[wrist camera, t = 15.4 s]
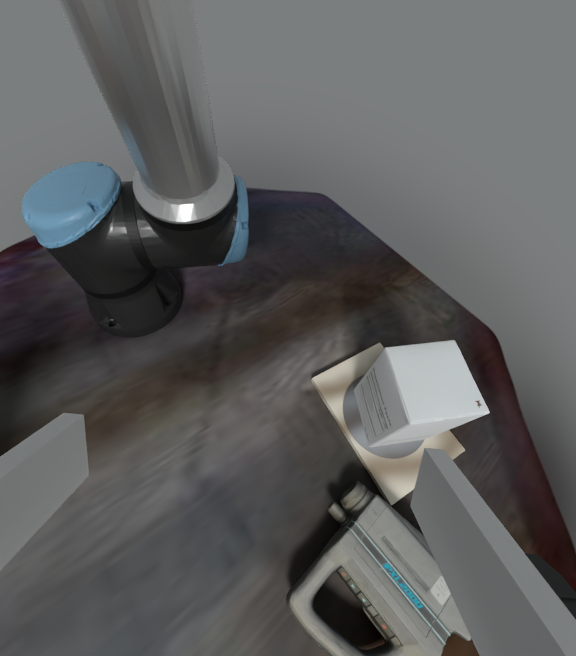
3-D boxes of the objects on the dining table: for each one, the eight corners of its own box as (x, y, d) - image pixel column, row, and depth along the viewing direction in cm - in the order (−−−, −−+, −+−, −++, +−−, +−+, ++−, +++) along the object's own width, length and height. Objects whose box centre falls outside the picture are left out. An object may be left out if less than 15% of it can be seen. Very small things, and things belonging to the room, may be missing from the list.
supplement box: (405, 381, 47) (457, 337, 34) (426, 440, 42) (494, 414, 30) (351, 388, 46) (383, 344, 33) (366, 448, 41) (411, 425, 28)
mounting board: (311, 380, 48) (312, 377, 46) (377, 345, 52) (380, 341, 50) (388, 505, 39) (392, 505, 38) (460, 451, 43) (466, 449, 42)
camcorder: (341, 472, 41) (350, 469, 37) (488, 570, 36) (518, 580, 32) (279, 604, 34) (280, 621, 29) (451, 749, 29) (484, 795, 24)
